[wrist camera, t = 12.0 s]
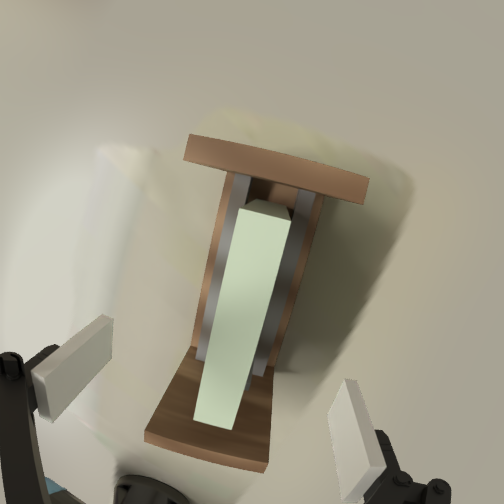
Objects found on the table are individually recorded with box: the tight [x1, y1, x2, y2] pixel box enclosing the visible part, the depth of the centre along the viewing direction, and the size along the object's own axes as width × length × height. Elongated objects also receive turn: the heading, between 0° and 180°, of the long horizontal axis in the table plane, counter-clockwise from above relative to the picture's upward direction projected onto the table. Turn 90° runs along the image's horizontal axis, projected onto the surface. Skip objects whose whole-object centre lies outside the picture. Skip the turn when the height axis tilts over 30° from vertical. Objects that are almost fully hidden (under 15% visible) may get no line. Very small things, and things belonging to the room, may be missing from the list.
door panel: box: [193, 199, 291, 430], centre depth 26 cm, size 16×4×14 cm, turn 167°
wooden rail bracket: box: [144, 134, 370, 473], centre depth 26 cm, size 23×10×16 cm, turn 167°
